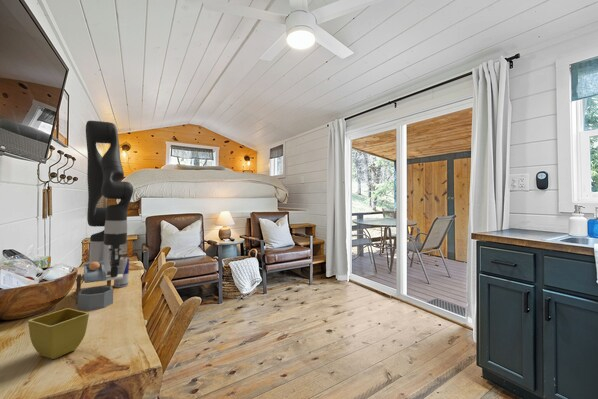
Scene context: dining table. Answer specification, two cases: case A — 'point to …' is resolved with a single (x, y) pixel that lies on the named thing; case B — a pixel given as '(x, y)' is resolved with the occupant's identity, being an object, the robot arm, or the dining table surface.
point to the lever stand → (88, 287)
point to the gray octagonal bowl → (95, 297)
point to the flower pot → (58, 332)
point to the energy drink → (123, 272)
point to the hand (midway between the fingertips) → (113, 276)
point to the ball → (94, 266)
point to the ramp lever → (97, 274)
